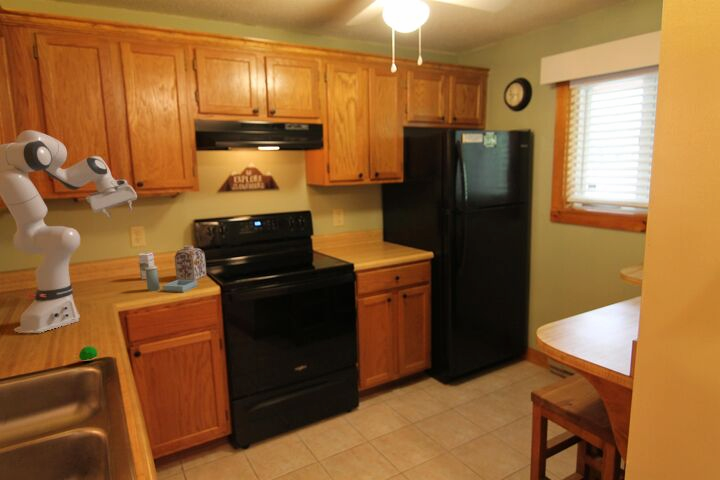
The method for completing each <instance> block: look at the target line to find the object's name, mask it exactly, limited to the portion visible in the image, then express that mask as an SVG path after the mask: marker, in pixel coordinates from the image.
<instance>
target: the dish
mask: <svg viewBox="0 0 720 480" xmlns="http://www.w3.org/2000/svg"><path fill="white" fill-rule="evenodd" d="M198 286H199V285H198V279H197V280H177V279H175V280H174V281H171V282H168V283H165V284H163V285H162V291H163V292H167V293H169V292H170V293H185V292H188V291H190V290H193V289H195V288H196V287H197V288H198Z"/></svg>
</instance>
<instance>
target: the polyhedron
mask: <svg viewBox="0 0 720 480" xmlns="http://www.w3.org/2000/svg"><path fill="white" fill-rule="evenodd" d="M98 353H99V352H98V349H97V348H96V347H95V346H91V345H89V346H88V345H87V346H85V347H83V348H82V349H81V350H80V351H79V355H78V356H79V359H80V360H81V361H82V360H87V359H92V358H94V357H96V356H98V355H99V354H98ZM96 358H97V357H96Z"/></svg>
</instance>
